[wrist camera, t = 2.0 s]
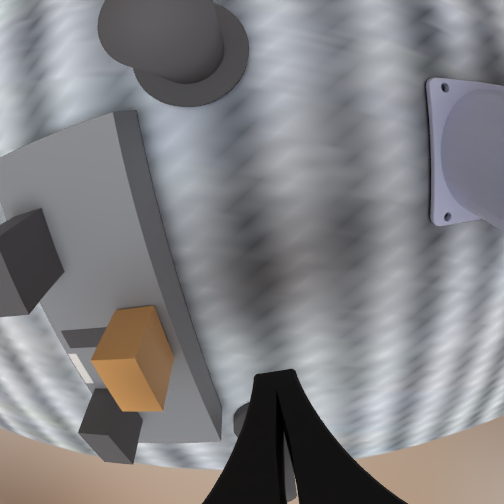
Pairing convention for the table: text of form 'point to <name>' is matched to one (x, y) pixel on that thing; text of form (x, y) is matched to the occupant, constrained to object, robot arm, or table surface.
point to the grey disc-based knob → (176, 47)
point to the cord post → (289, 472)
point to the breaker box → (101, 272)
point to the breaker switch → (135, 359)
